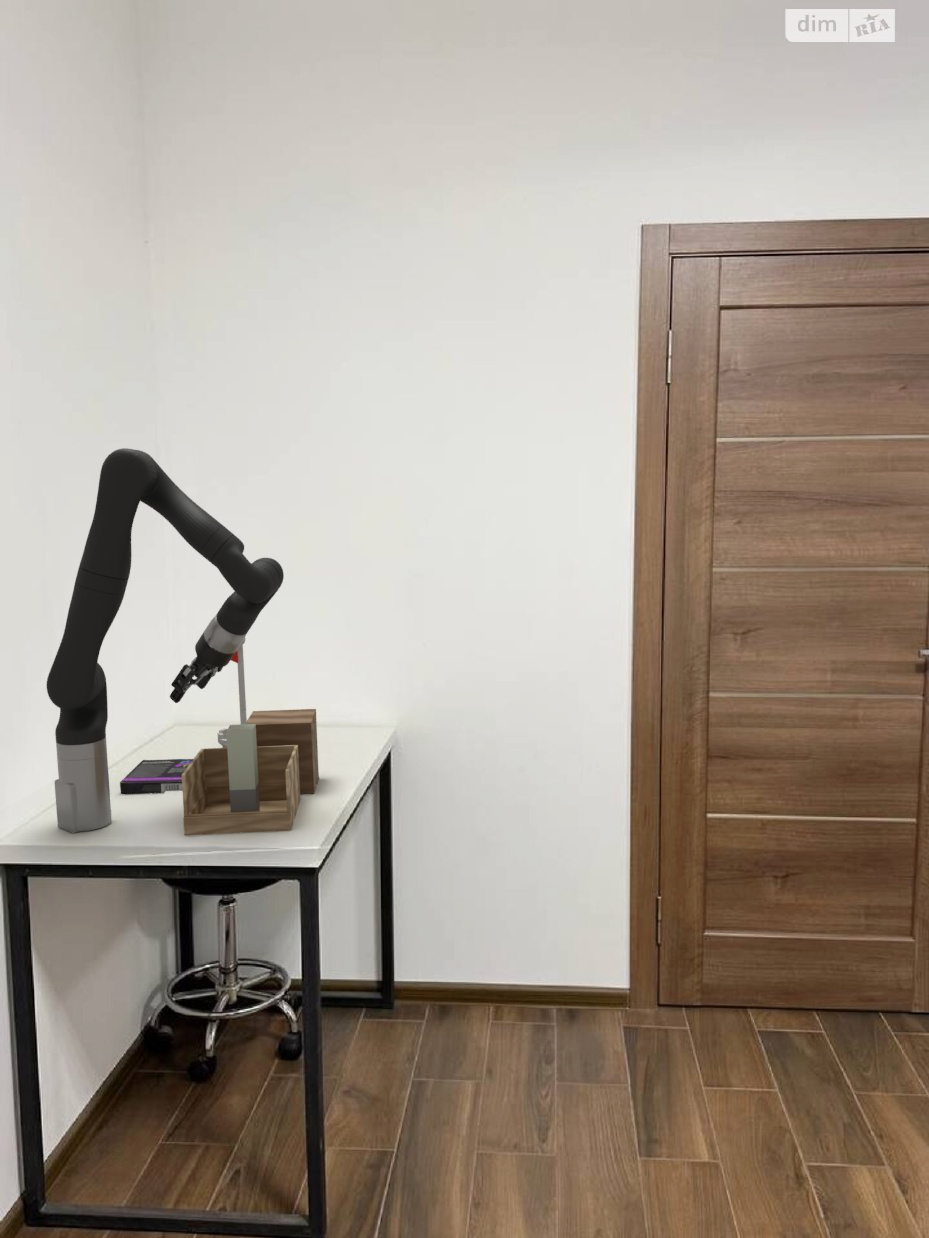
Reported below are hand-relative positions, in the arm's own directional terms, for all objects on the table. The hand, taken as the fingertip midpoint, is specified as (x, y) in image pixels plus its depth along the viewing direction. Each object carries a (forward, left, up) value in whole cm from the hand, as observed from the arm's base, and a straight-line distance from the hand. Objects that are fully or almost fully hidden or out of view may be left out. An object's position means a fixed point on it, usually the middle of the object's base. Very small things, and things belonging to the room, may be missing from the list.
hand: (186, 692), depth 212 cm
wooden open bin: (+1, -17, -24) cm, 29 cm away
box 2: (+1, -17, -23) cm, 29 cm away
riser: (+19, -7, -24) cm, 31 cm away
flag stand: (+34, +27, -24) cm, 50 cm away
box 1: (+6, +20, -25) cm, 32 cm away
